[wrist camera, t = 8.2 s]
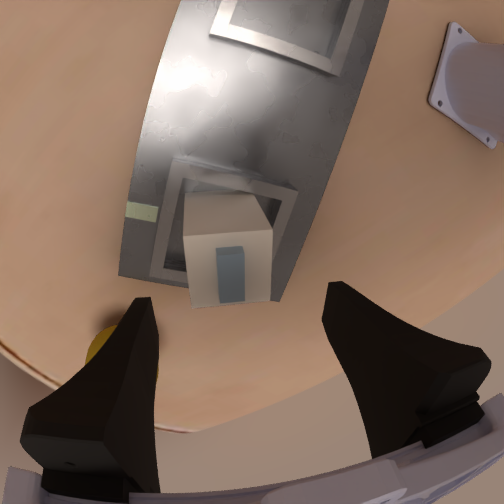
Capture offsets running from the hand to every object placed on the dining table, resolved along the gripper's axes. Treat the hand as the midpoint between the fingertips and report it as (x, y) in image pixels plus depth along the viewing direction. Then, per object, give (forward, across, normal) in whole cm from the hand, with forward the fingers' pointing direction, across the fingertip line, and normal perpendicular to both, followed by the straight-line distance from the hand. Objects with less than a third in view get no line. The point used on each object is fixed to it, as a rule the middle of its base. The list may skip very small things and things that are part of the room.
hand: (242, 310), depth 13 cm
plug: (+9, 0, 0) cm, 9 cm away
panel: (+10, -2, -6) cm, 12 cm away
